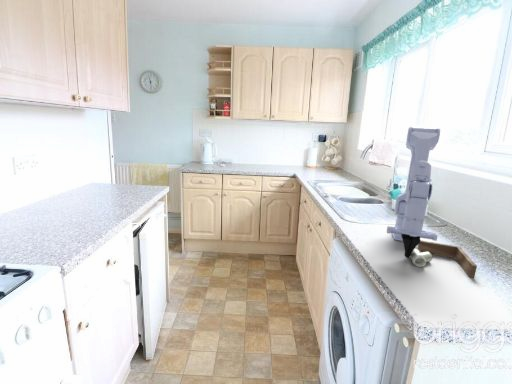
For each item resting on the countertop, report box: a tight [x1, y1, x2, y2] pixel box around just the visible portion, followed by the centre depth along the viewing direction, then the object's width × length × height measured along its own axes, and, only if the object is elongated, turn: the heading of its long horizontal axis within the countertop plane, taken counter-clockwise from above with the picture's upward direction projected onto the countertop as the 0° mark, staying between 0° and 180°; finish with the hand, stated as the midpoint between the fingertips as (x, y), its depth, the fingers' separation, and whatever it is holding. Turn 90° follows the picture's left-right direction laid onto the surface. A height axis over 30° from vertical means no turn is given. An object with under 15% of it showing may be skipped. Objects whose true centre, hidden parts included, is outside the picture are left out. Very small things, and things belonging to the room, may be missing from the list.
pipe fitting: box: [410, 246, 433, 268], centre depth 94 cm, size 8×4×7 cm
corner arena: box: [417, 239, 478, 279], centre depth 94 cm, size 16×13×4 cm
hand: (406, 256), depth 96 cm, fingers closed
